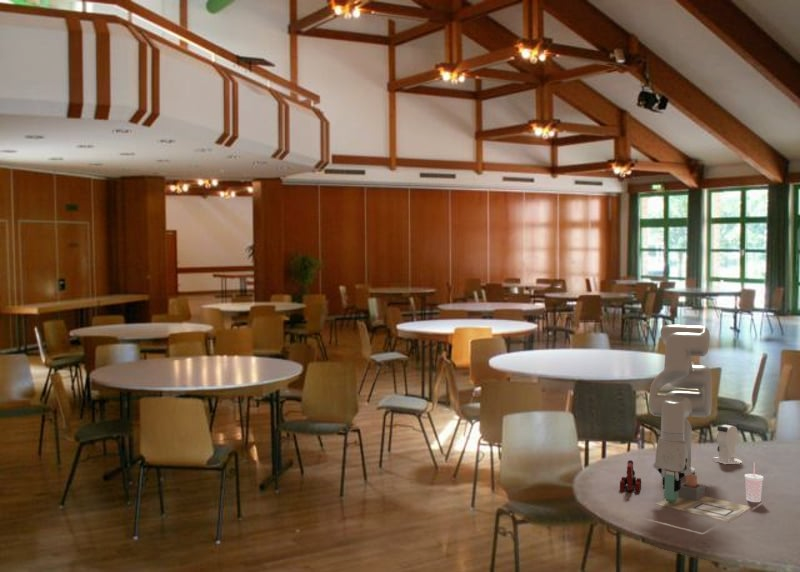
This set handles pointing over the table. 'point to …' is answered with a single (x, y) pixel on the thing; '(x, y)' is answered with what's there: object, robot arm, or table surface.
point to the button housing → (691, 492)
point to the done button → (691, 480)
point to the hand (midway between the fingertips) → (671, 488)
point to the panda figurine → (727, 442)
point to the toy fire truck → (630, 479)
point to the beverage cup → (753, 486)
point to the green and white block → (670, 487)
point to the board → (708, 507)
